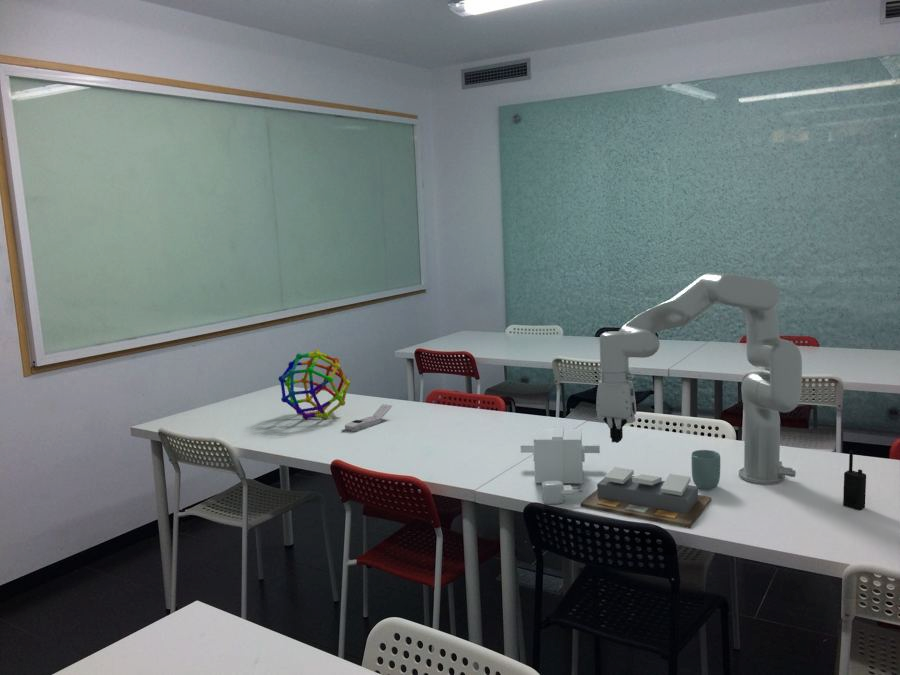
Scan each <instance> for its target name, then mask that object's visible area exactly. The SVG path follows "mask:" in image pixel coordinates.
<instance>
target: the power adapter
mask: <svg viewBox="0 0 900 675" xmlns="http://www.w3.org/2000/svg"><path fill="white" fill-rule="evenodd" d="M576 493H578V494H579V493H584V490H583V489H582V486H572V485H571V484H564V485H563V484H562V482H561V481H544V482H542V483H541V497H542V498H541V499H542V501H543V503H544V505H560V504H561V503H562V504H564V501H565V496H574V494H576Z"/></svg>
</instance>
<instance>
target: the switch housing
mask: <svg viewBox="0 0 900 675" xmlns="http://www.w3.org/2000/svg"><path fill="white" fill-rule="evenodd" d="M632 477H635V476H634V475H632V476H631V477H630V478H629V479H628V480H627V481H626V482H625V483H624V484H622V483H616V482H610V481H604V478H603V479H601V480H600V481H599V482H598V483H597V485H596V487H597V489H596V490H597V495H598V498H604V499H609V500H615V501H620V502H625V503H631V504H636V505H642V506H647V507H652V508H658V509H663V510H669V511H674V512H680V513H685V514H688V512H689V511H690V510H691V509H692V507H693V506H694V505H695V504H696V503H697V501H698V495H699V488H698V487H697V486H696V485H690V484H689V485H688V486H687V488H686V490H685V491H684V493H683V495H682V496H680V495H674V494H668V493H662V492H661V489H660V488H661V487H662V485H663V484H664V482H665V481H666V480H662V482H659V483H657V484H654V485H647V484H641V483H635V482H632Z"/></svg>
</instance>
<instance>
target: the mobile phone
mask: <svg viewBox="0 0 900 675" xmlns="http://www.w3.org/2000/svg"><path fill="white" fill-rule="evenodd" d="M392 407H393V405H391V404H381V405H380V406H379V407H378V409H377V410H376V411H375V413H373V415H371V416H367V417H365V418H364V417H363V418H361V419H360V418H359V419H354V420H352V421H350V422H347V423H345V425H344V428H343V429H341V433H343V432H346V431H351V432H357V431H362V430H364V429H368V428H371V427H373V426H376V425H378V424H381V421H382V419H383V418H384V417H385V415H386V414H387V413H388V412H389V411H390V410H391V408H392Z"/></svg>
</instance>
